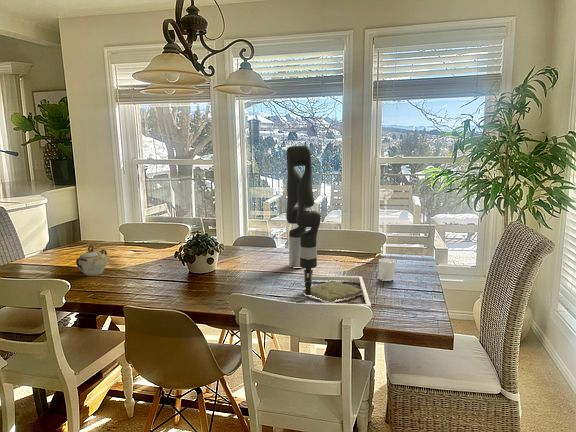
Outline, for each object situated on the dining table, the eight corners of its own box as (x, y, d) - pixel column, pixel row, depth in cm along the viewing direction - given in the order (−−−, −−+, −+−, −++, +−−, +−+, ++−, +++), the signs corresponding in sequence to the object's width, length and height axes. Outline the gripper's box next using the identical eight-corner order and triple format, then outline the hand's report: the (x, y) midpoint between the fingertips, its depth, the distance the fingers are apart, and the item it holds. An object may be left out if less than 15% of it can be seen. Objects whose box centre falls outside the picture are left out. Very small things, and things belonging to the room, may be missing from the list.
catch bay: (309, 281, 202) (309, 275, 202) (361, 282, 200) (361, 276, 200) (306, 311, 166) (306, 303, 165) (370, 312, 164) (371, 305, 163)
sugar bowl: (89, 280, 204) (87, 251, 202) (66, 277, 210) (64, 248, 207) (118, 269, 223) (116, 242, 220) (97, 266, 228) (94, 240, 225)
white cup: (378, 282, 200) (379, 262, 199) (377, 277, 208) (378, 258, 206) (395, 282, 199) (396, 262, 198) (393, 277, 207) (394, 258, 205)
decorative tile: (302, 295, 184) (302, 288, 183) (333, 285, 197) (333, 278, 196) (333, 308, 170) (333, 299, 169) (364, 296, 183) (364, 288, 182)
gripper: (300, 251, 188) (300, 285, 191) (299, 260, 174) (299, 296, 177) (316, 251, 188) (316, 286, 190) (316, 260, 174) (316, 297, 176)
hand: (308, 291), depth 184 cm, fingers open, 8 cm apart
